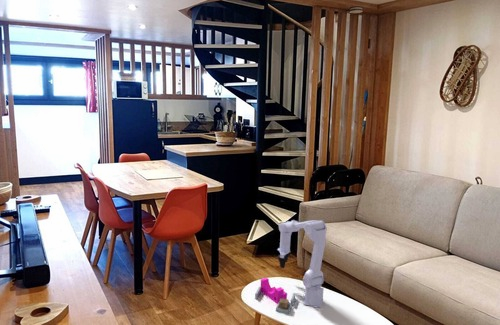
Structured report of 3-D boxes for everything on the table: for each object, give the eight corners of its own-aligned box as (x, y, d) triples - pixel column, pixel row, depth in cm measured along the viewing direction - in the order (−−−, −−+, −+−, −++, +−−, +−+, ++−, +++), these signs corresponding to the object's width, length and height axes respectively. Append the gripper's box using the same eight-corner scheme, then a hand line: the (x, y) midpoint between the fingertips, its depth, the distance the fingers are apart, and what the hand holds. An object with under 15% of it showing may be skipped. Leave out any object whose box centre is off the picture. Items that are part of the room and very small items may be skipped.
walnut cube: (288, 306, 202) (288, 299, 201) (286, 310, 198) (286, 303, 197) (280, 305, 203) (280, 298, 202) (278, 309, 199) (279, 302, 198)
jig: (294, 298, 211) (295, 293, 210) (289, 313, 196) (289, 308, 196) (259, 291, 216) (259, 286, 216) (251, 306, 202) (251, 300, 201)
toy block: (286, 301, 208) (287, 288, 207) (277, 304, 205) (278, 291, 203) (269, 288, 220) (269, 276, 219) (260, 291, 217) (260, 279, 215)
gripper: (280, 237, 232) (279, 258, 234) (275, 246, 218) (274, 269, 221) (292, 238, 230) (291, 260, 232) (287, 248, 216) (286, 271, 219)
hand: (283, 264), depth 226 cm, fingers open, 7 cm apart
